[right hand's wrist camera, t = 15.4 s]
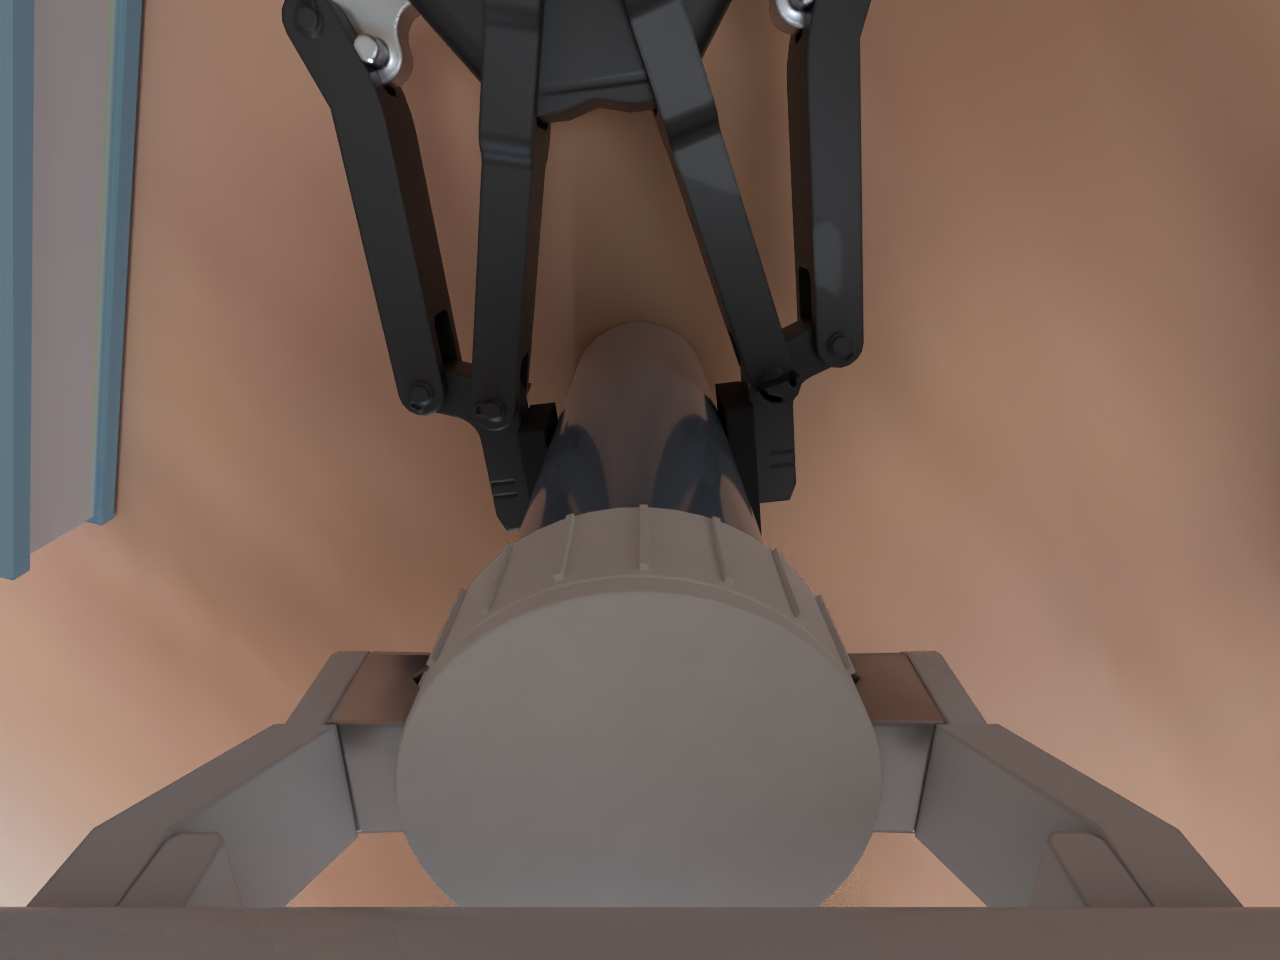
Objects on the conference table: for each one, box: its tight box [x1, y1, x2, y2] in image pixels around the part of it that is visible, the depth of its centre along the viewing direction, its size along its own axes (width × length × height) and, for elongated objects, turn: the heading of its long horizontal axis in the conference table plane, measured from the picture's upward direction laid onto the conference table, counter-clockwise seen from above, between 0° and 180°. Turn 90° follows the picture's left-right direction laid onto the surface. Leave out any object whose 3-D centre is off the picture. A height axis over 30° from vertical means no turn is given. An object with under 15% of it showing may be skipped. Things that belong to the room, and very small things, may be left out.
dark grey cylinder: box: [515, 322, 764, 544], centre depth 18 cm, size 5×5×20 cm
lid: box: [394, 504, 883, 907], centre depth 10 cm, size 6×6×2 cm
